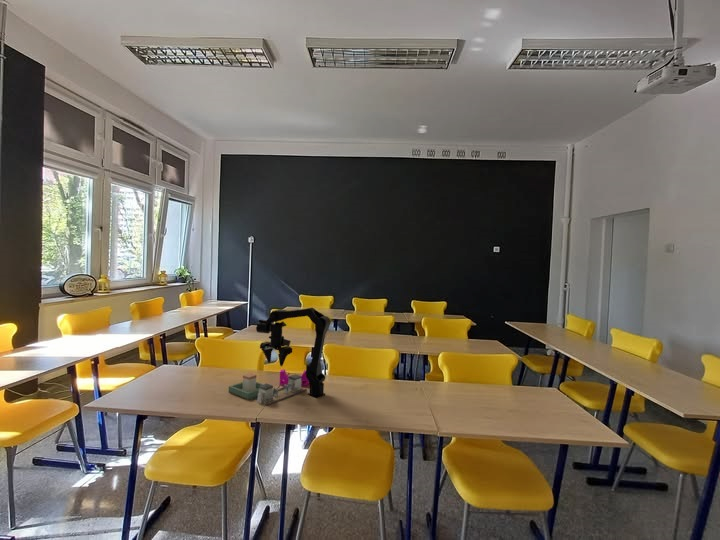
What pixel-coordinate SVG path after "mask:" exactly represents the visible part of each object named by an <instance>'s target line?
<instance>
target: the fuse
mask: <svg viewBox="0 0 720 540" xmlns="http://www.w3.org/2000/svg"><path fill="white" fill-rule="evenodd" d="M242 382H243V391H246V392H248V393H249V392H252V391H255V390H256V382H257V374H254V373H252V372H251V373H246V374H243V375H242Z"/></svg>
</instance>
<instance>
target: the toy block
mask: <svg viewBox="0 0 720 540" xmlns="http://www.w3.org/2000/svg"><path fill="white" fill-rule="evenodd" d="M305 372H306V369H305V370H303V373H302V374H300V375H299V376H301V381H302V382H301V387H302V386H304V387H308V386H309V385H310V384H309V381H308V379H307V377H306V373H305ZM289 376H290V375H288V374H287V372H286V369H280V371H279V385H280V386H284V384H285V385H288V382H289Z"/></svg>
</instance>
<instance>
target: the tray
mask: <svg viewBox="0 0 720 540" xmlns="http://www.w3.org/2000/svg"><path fill="white" fill-rule="evenodd" d="M263 384H264V383H261V382H258V381H256V390H255V391H252V392H249V393H248V392H246V391H243V381H242V382H241V381H240V382H238V383H236V384H230V385H229V386H228V393H229V394H232V395H235V396H237V397H240V398H242V399H244V400H247V401H249V400H252V398H255V397H258V393H259V386H260V385H263Z"/></svg>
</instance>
